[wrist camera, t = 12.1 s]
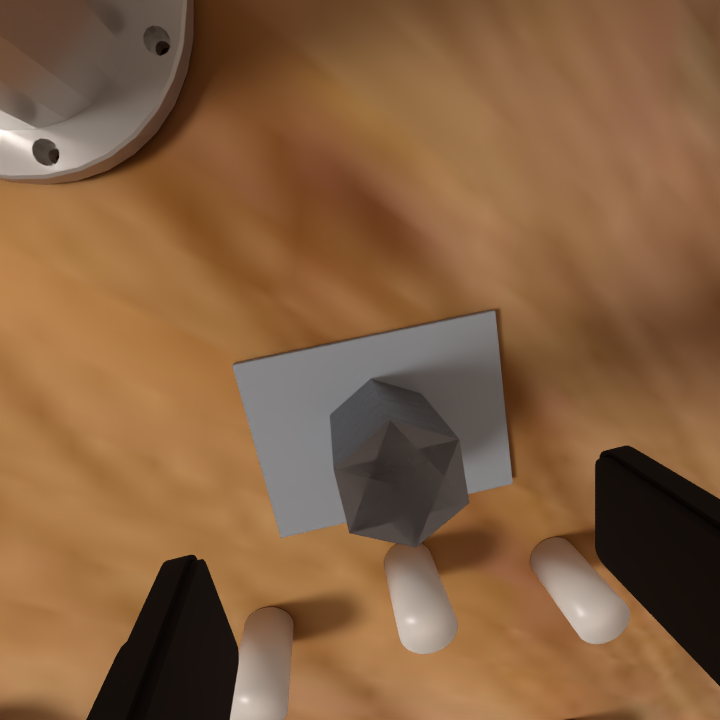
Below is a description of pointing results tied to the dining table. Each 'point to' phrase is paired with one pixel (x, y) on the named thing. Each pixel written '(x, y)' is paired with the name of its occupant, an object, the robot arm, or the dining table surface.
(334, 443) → the grey faceted polyhedron
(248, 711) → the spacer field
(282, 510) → the mat
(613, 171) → the dining table surface
